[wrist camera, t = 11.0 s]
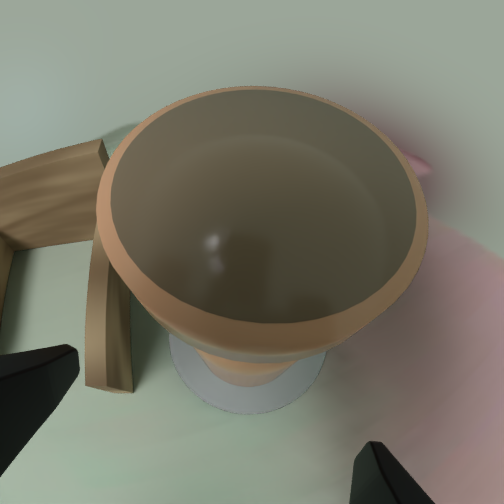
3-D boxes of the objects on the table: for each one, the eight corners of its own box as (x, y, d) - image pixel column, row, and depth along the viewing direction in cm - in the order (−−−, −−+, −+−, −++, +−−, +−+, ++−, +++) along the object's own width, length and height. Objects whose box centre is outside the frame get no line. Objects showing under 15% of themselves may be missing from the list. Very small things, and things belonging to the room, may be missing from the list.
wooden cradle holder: (133, 393, 15) (64, 372, 8) (-12, 380, 13) (-87, 349, 6) (134, 221, 21) (102, 138, 14) (8, 241, 20) (-39, 183, 13)
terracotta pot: (311, 387, 15) (473, 313, 4) (192, 395, 14) (63, 344, 3) (296, 282, 18) (366, 93, 7) (190, 287, 17) (134, 93, 7)
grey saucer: (347, 365, 17) (354, 361, 16) (215, 439, 14) (214, 441, 13) (274, 252, 20) (276, 242, 19) (151, 308, 18) (146, 301, 17)
